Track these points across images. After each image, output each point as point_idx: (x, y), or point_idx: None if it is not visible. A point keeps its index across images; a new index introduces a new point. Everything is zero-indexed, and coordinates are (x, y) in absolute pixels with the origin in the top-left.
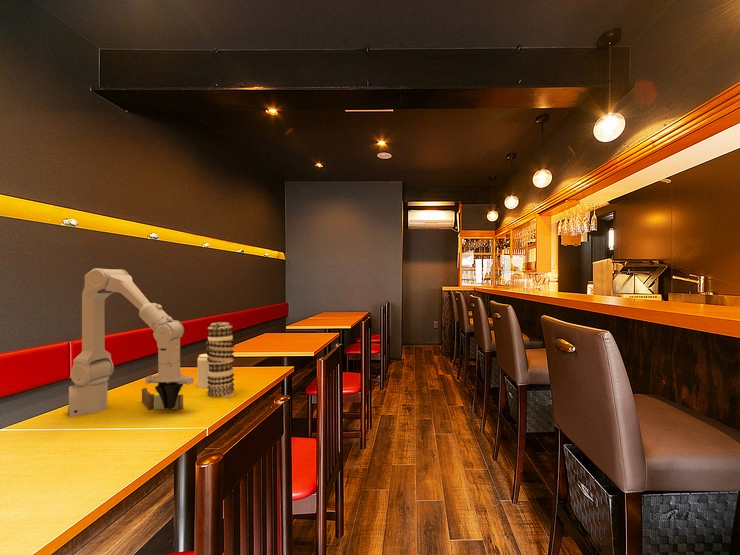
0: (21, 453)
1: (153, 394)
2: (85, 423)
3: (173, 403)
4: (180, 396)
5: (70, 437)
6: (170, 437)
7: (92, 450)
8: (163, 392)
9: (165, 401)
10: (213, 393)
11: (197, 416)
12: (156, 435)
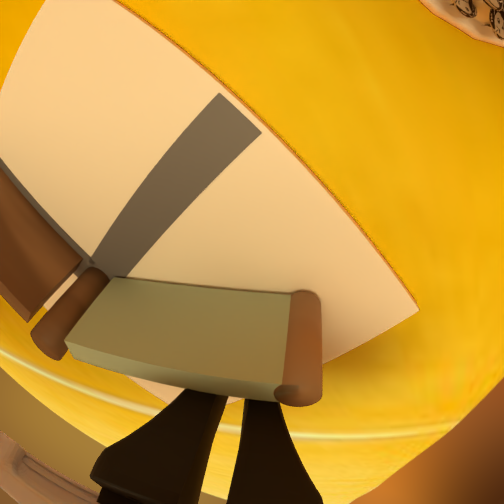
0: (99, 438)
1: (51, 343)
2: (30, 348)
3: None
4: (305, 400)
5: (98, 416)
6: (367, 460)
7: (215, 470)
8: (202, 479)
9: (221, 413)
10: (478, 3)
11: (430, 367)
12: (322, 456)
